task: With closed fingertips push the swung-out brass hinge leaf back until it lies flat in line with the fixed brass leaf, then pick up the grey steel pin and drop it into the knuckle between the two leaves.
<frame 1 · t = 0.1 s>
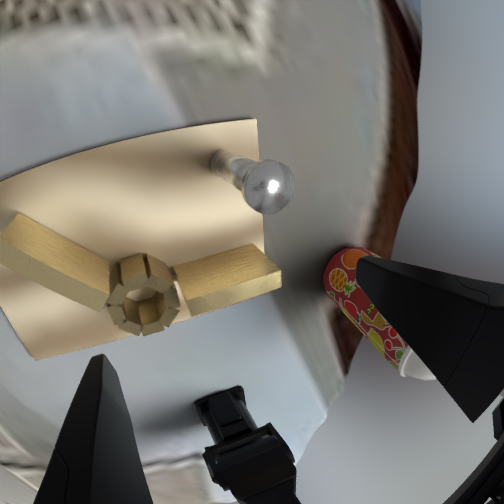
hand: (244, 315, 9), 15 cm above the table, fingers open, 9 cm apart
pin: (221, 162, 21), point 1 cm above the table, touching mount board
mount board: (117, 250, 21), on the table
loose leaf: (54, 260, 16), point 3 cm above the table, hinge at -45.0°
smoothie: (341, 268, 33), on the table
hinge base: (138, 279, 23), resting on mount board
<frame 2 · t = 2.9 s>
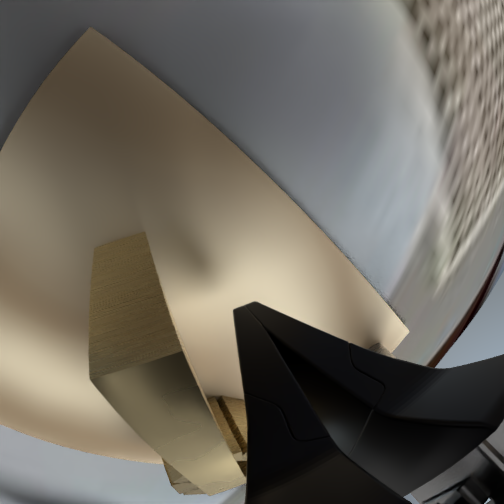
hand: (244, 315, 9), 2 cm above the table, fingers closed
mount board: (220, 380, 13), on the table
loose leaf: (175, 393, 8), point 3 cm above the table, hinge at -39.1°, touching gripper
hinge base: (200, 417, 14), resting on mount board
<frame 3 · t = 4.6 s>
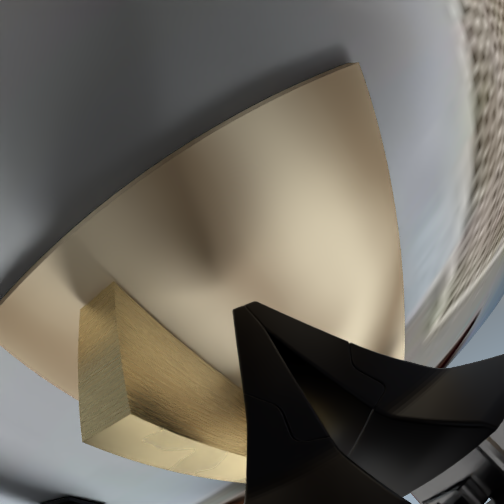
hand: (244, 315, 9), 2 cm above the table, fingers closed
mount board: (288, 366, 15), on the table
loose leaf: (192, 408, 8), point 3 cm above the table, hinge at 1.5°, touching gripper
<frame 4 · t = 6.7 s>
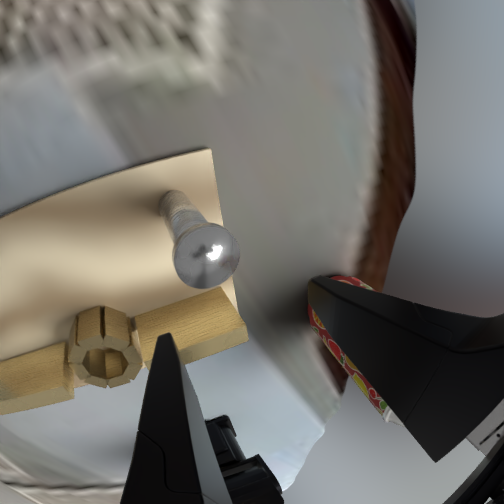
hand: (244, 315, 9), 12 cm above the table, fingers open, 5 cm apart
pin: (173, 205, 18), point 1 cm above the table, touching mount board
mount board: (76, 303, 18), on the table
loose leaf: (30, 380, 16), point 3 cm above the table, hinge at 1.5°
smoothie: (328, 297, 30), on the table
hinge base: (103, 329, 20), resting on mount board
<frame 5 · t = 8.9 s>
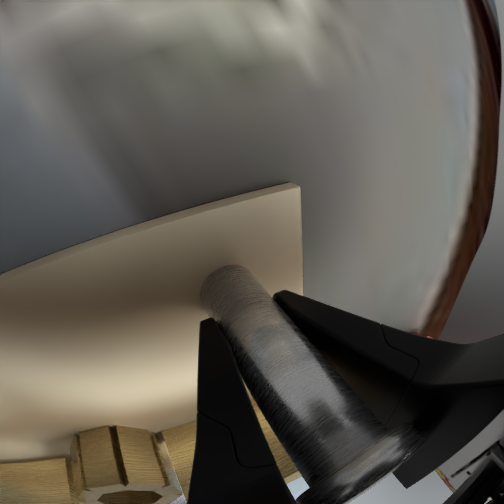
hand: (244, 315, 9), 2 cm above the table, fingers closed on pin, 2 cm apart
pin: (228, 290, 10), point 1 cm above the table, touching gripper, mount board
mount board: (71, 418, 10), on the table
loose leaf: (29, 498, 8), point 3 cm above the table, hinge at 1.5°
hinge base: (115, 440, 12), resting on mount board
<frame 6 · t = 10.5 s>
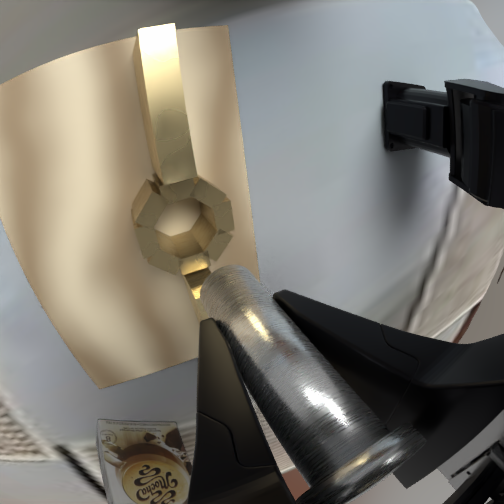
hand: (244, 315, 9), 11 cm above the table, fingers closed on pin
coffee box: (133, 432, 26), on the table
pin: (228, 290, 10), point 10 cm above the table, touching gripper
mount board: (132, 235, 18), on the table
loose leaf: (211, 321, 19), point 3 cm above the table, hinge at 1.5°
hinge base: (173, 207, 18), resting on mount board
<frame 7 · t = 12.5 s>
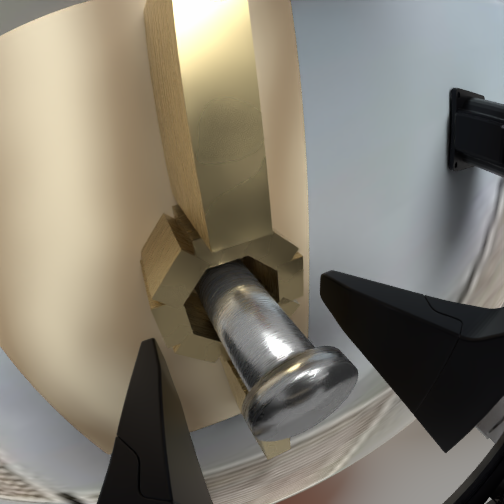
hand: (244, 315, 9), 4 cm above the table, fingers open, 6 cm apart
pin: (206, 257, 12), point 1 cm above the table, touching mount board
mount board: (142, 292, 12), on the table
loose leaf: (254, 397, 14), point 3 cm above the table, hinge at 1.5°
hinge base: (202, 252, 12), resting on mount board
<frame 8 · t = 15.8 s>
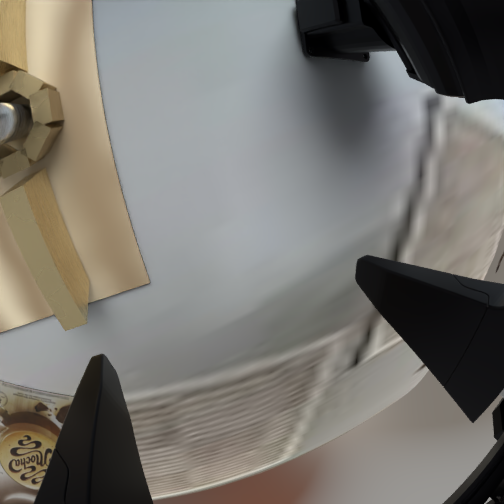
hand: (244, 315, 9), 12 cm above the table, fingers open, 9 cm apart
coffee box: (37, 403, 20), on the table
pin: (24, 121, 11), point 1 cm above the table, touching mount board
loose leaf: (49, 247, 13), point 3 cm above the table, hinge at 1.5°
hinge base: (26, 121, 12), resting on mount board
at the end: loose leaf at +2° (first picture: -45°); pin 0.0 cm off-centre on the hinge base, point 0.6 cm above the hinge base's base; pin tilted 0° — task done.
